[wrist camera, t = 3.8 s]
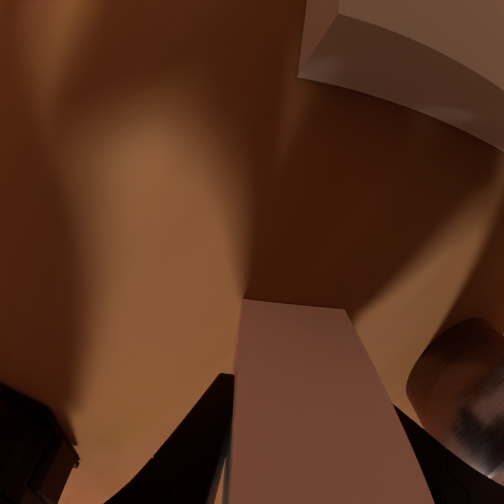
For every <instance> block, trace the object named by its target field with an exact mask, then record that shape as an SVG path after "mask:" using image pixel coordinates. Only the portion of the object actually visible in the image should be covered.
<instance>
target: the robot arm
mask: <svg viewBox="0 0 504 504" xmlns="http://www.w3.org/2000/svg"><path fill="white" fill-rule="evenodd" d="M234 380H235V375H234V374H226V373H220V374H219V375H218V376H217V377H216V379H215V380H214V381H213V382H212V384H211V385H210V386H209V388H208V389H207V390H206V391H205V393H204V394H203V395H202V397H201V398H200V399H199V400H198V402H197V403H196V404H195V405H194V407H193V408H192V409H191V410H190V412H189V413H188V414H187V415H186V417H185V418H184V419H183V420H182V422H181V423H180V424H179V425H178V427H177V428H176V429H175V430H174V431H173V433H172V434H171V435H170V436H169V438H168V439H167V440H166V441H165V442H164V444H163V445H162V446H161V447H160V448H159V450H158V451H157V452H156V453H155V454H154V455H153V458H151V459H150V460H149V461H148V462H147V463H146V465H145V466H144V467H143V468H142V469H141V470H140V471H139V472H138V473H137V474H136V475H135V476H134V478H133V479H132V480H131V481H130V482H129V483H127V484H126V485H125V486H124V487H123V488H122V489H121V490H120V491H118V492H117V493H116V494H115V495H114V496H113V497H111V498H110V499H109V500H107V501H106V502H105V503H104V504H214V502H215V498H216V494H217V490H218V486H219V482H220V478H221V474H222V470H223V466H224V462H225V458H226V452H227V446H228V440H229V434H230V427H231V421H232V415H233V400H234ZM393 407H394V409H395V411H396V413H397V415H398V417H399V420H400V422H401V424H402V426H403V428H404V431H405V433H406V435H407V437H408V440H409V442H410V444H411V447H412V449H413V451H414V453H415V456H416V458H417V461H418V463H419V465H420V468H421V470H422V473H423V475H424V478H425V480H426V482H427V485H428V488H429V490H430V493H431V495H432V498H433V500H434V503H435V504H504V486H502V485H500V484H499V483H497V482H495V481H494V480H492V479H490V478H489V477H487V476H485V475H484V474H482V473H481V472H479V471H477V470H476V469H474V468H473V467H471V466H470V465H468V464H467V463H466V462H464V461H463V460H462V459H460V458H459V457H458V456H456V455H455V454H454V453H452V452H451V451H450V450H449V449H446V447H445V446H444V445H442V444H441V443H440V442H439V441H437V440H436V439H435V438H434V437H432V436H431V435H430V434H429V433H428V432H426V431H425V430H424V429H423V428H421V427H420V426H419V425H418V424H417V423H415V422H414V421H413V420H412V419H410V418H409V417H408V416H407V415H406V414H404V413H403V412H402V411H401V410H400V409H398V408H397V407H396V406H395V405H394V404H393ZM78 466H79V462H78V460H77V458H76V457H75V455H74V453H73V452H72V450H71V448H70V446H69V445H68V443H67V441H66V439H65V438H64V436H63V434H62V432H61V430H60V428H59V426H58V424H57V422H56V420H55V418H54V416H53V414H52V413H51V412H50V411H49V410H48V409H47V408H46V407H44V406H42V405H40V404H38V403H36V402H34V401H32V400H29V399H27V398H25V397H23V396H21V395H19V394H17V393H15V392H14V391H12V390H10V389H8V388H6V387H4V386H2V385H1V384H0V504H58V501H59V499H60V496H61V494H62V491H63V489H64V486H65V484H66V482H67V479H68V477H69V475H70V472H71V470H72V468H78Z"/></svg>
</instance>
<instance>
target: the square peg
mask: <svg viewBox="0 0 504 504" xmlns="http://www.w3.org/2000/svg"><path fill="white" fill-rule="evenodd" d="M232 374H234V375H235V380H234V400H233V415H232V421H231V427H230V434H229V440H228V446H227V452H226V458H225V465H224V479H223V492H222V504H435V503H434V500H433V498H432V495H431V493H430V490H429V488H428V485H427V482H426V480H425V478H424V475H423V473H422V470H421V468H420V465H419V463H418V461H417V458H416V456H415V453H414V451H413V449H412V447H411V444H410V442H409V440H408V437H407V435H406V433H405V431H404V428H403V426H402V424H401V422H400V420H399V417H398V415H397V413H396V411H395V409H394V407H393V404H392V402H391V400H390V398H389V396H388V394H387V392H386V390H385V388H384V386H383V383H382V381H381V379H380V377H379V375H378V373H377V371H376V369H375V367H374V365H373V363H372V361H371V359H370V357H369V355H368V353H367V351H366V349H365V347H364V345H363V344H362V342H361V340H360V338H359V336H358V334H357V332H356V330H355V328H354V326H353V324H352V322H351V321H350V319H349V317H348V315H347V313H346V311H345V309H335V308H324V307H313V306H303V305H293V304H283V303H274V302H265V301H256V300H248V299H242V304H241V312H240V319H239V326H238V333H237V341H236V348H235V355H234V362H233V370H232Z"/></svg>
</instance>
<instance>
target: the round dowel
mask: <svg viewBox="0 0 504 504" xmlns="http://www.w3.org/2000/svg"><path fill="white" fill-rule="evenodd" d="M406 393H407V396H408V399H409V401H410V402H411V404H412V406H413V408H414V410H415V412H416V414H417V416H418V418H419V420H420V422H421V424H422V426H423V428H424V430H425V431H426V432H428V433H429V434H430V435H431V436H432V437H434V438H435V439H436V440H437V441H439V442H440V443H441V444H442V445H444V446H445V447H446V449H449V450H450V451H451V452H452V453H454V454H455V455H456V456H458V457H459V458H460V459H462V460H463V461H464V462H466V463H467V464H468V465H470V466H471V467H473V468H474V469H476V470H477V471H479V472H481V473H482V474H484V475H485V476H487V477H489V478H490V479H492V480H494V481H495V482H497V483H499V484H500V483H502V482H503V481H504V336H503V335H502V334H501V333H500V332H499V331H498V330H497V329H496V328H495V327H494V326H493V325H491V324H490V323H489V322H488V321H487V320H485V319H483V318H470V319H467V320H464V321H461V322H460V323H458V324H456V325H454V326H452V327H451V328H449V329H448V330H446V331H445V332H444V333H442V334H441V335H440V336H439V337H438V338H437V339H436V340H435V341H434V342H432V343H431V344H430V346H429V347H428V348H427V349H426V350H425V351H424V352H423V354H422V355H421V356H420V357H419V359H418V360H417V362H416V363H415V365H414V367H413V369H412V370H411V373H410V375H409V377H408V380H407V385H406Z"/></svg>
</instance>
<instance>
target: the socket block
mask: <svg viewBox="0 0 504 504" xmlns="http://www.w3.org/2000/svg"><path fill="white" fill-rule="evenodd" d="M297 77H298V78H303V79H308V80H313V81H318V82H322V83H327V84H331V85H335V86H339V87H343V88H347V89H351V90H355V91H358V92H362V93H365V94H369V95H372V96H375V97H379V98H382V99H385V100H388V101H391V102H394V103H397V104H400V105H403V106H405V107H408V108H411V109H413V110H416V111H419V112H421V113H424V114H426V115H429V116H431V117H434V118H436V119H438V120H441V121H443V122H445V123H448V124H450V125H452V126H454V127H456V128H459V129H461V130H463V131H465V132H467V133H469V134H471V135H473V136H475V137H477V138H479V139H481V140H483V141H485V142H487V143H488V144H490V145H492V146H494V147H496V148H497V149H499V150H501V151H503V152H504V0H307V3H306V11H305V20H304V28H303V36H302V44H301V52H300V60H299V67H298V75H297Z"/></svg>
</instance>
